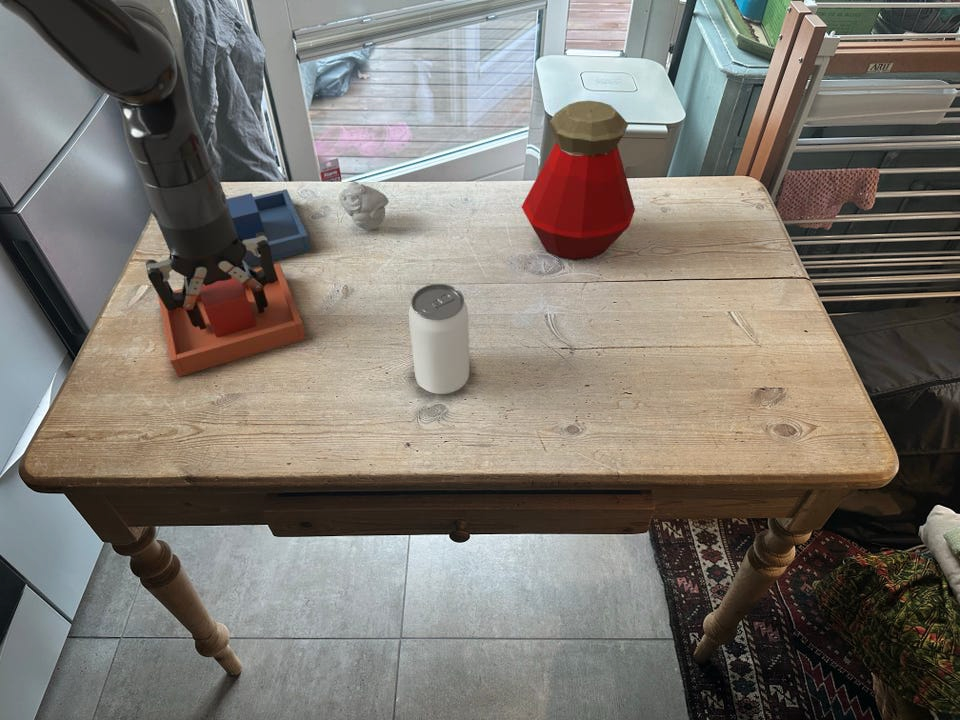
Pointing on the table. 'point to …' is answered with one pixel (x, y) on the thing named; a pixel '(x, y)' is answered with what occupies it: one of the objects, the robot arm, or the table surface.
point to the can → (439, 338)
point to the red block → (227, 307)
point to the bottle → (582, 184)
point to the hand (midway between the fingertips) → (231, 316)
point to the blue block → (245, 216)
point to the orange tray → (206, 350)
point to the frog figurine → (364, 205)
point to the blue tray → (280, 227)
